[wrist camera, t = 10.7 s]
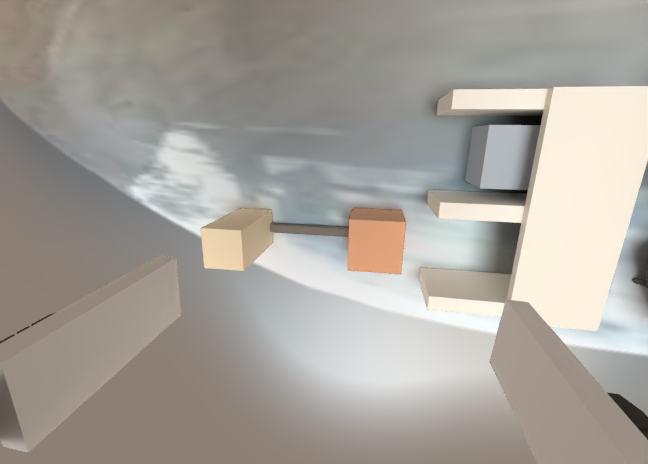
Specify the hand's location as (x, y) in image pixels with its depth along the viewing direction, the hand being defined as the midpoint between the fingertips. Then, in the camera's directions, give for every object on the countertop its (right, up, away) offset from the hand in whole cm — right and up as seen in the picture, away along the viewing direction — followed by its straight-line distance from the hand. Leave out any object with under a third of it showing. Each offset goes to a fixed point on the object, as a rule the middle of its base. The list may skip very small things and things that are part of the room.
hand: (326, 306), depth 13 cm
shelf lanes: (+19, +7, +25) cm, 32 cm away
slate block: (+19, +12, +23) cm, 33 cm away
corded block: (-1, +3, +29) cm, 29 cm away
